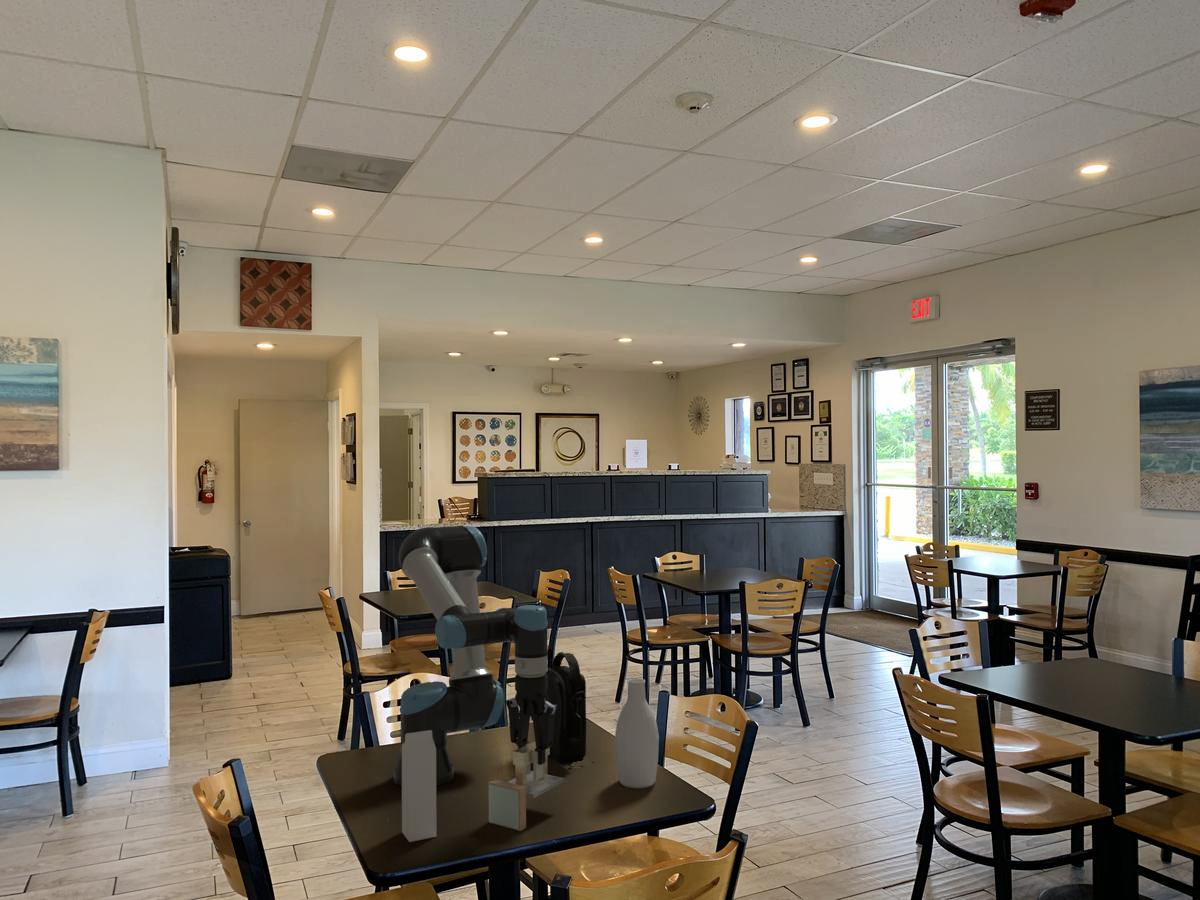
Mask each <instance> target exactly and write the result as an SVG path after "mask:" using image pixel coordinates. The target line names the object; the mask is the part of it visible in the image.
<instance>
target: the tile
mask: <svg viewBox="0 0 1200 900" xmlns="http://www.w3.org/2000/svg"><path fill="white" fill-rule="evenodd" d="M487 784H488V785H487V786H488V789H487V790H488V795H487V796H488V797H487V798H488V804H487V805H488V823H489V824H492V825H496V826H500V827H503V828H508V829H512V830H514V831H518V832H522V831H523V830H525V829H527V797H526V787H525V786H521V785H517V784H512V783H508V781H504V780H499V779H495V778H494V779H492V780H489V781H488V783H487Z"/></svg>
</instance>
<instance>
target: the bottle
mask: <svg viewBox="0 0 1200 900" xmlns="http://www.w3.org/2000/svg"><path fill="white" fill-rule="evenodd" d="M645 684H646V680H645V678H644V679H643V678H630V679H627V700H626V702H625V703H624V705H623V707H622V709H621V710H620V713H619V715H618V719H617V723H616V728H615V735H614V747H615V748H614V749H615V763H616V768H617V776H618V782H619V783H620V784H621V785H622V786H623V787H626V788H629V789H630V788H631V789H645V788H649V787H652V786H653V785H654V784H655V783H656V779H657V773H658V763H659V747H660V745H659V744H660V743H659V741H660V740H659V739H660V736H659V735H660V734H659V729H658V724H657V719H656V717H655V714H654V712H653V710H652V708H651V707H650V705H649V703H648V702H647V699H646V687H645V686H646V685H645Z"/></svg>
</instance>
